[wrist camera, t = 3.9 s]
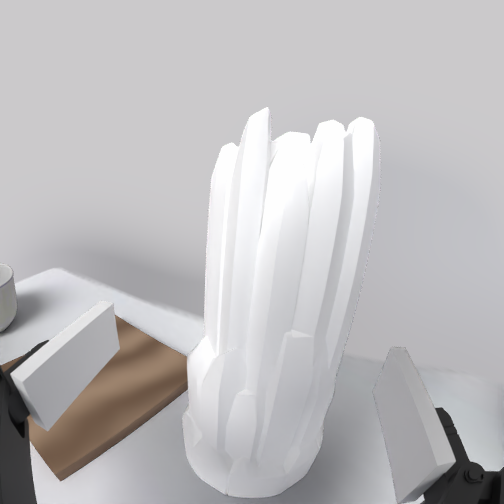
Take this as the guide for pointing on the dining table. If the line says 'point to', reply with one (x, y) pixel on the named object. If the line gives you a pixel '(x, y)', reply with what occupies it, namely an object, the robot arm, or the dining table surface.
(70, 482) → the dining table surface
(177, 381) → the board
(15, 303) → the teacup
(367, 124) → the decorative vase
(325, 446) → the dining table surface
